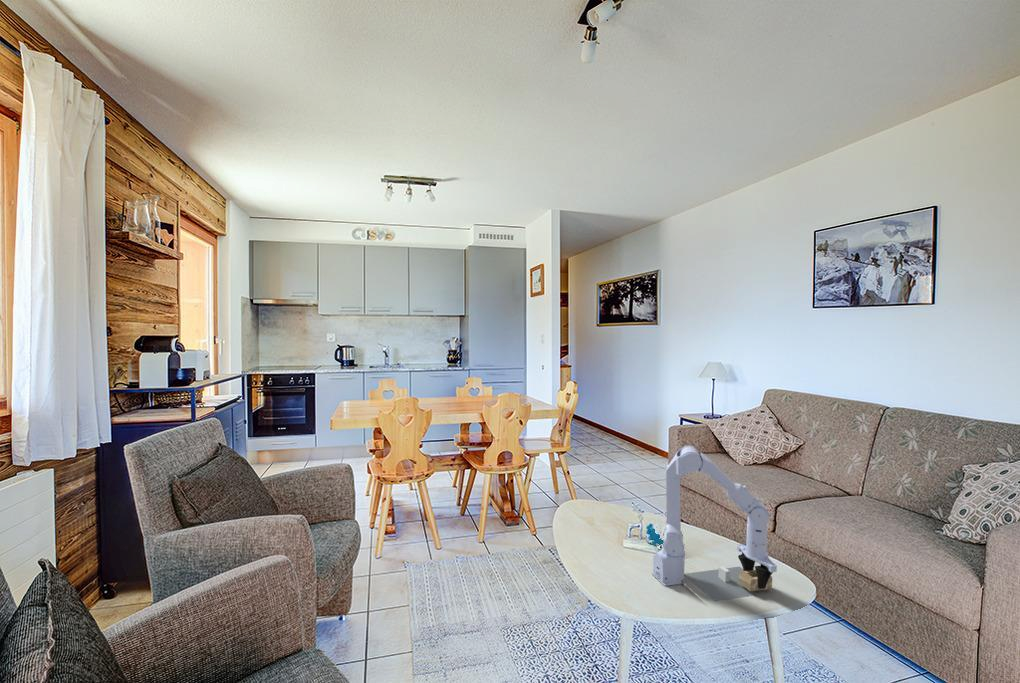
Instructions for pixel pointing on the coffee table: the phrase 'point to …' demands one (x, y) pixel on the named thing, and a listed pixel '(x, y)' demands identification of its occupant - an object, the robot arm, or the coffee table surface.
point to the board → (723, 583)
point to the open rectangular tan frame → (752, 580)
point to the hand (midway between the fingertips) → (755, 583)
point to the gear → (653, 535)
